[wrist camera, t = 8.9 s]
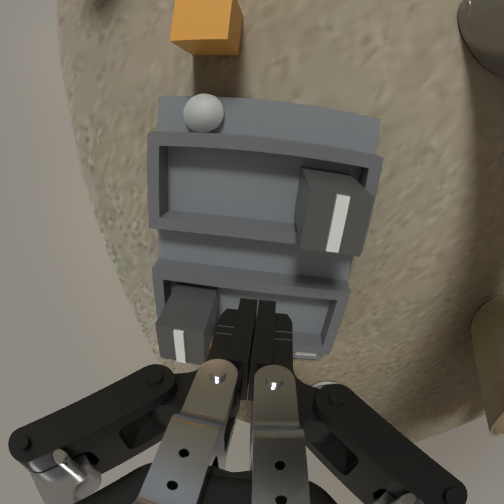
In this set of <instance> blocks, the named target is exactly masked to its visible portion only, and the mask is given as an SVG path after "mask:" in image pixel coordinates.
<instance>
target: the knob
mask: <svg viewBox="0 0 504 504" xmlns="http://www.w3.org/2000/svg"><path fill="white" fill-rule="evenodd" d="M373 202H374V196H373V195H372V194H371V193H370V192H369V191H367V190H366V189H365V188H364V187H363V186H362V185H361V184H360V183H359V182H358V181H357V180H356V179H354V178H353V177H352V176H351V175H350V174H348V173H342V172H336V171H330V170H323V169H317V168H310V167H303V166H301V170H300V177H299V184H298V191H297V198H296V205H295V212H294V214H295V221H296V227H297V234H298V240H299V247H300V249H304V250H312V251H320V252H329V253H337V254H345V255H353V256H360V254H361V251H362V247H363V243H364V239H365V235H366V231H367V227H368V223H369V219H370V215H371V211H372V206H373Z"/></svg>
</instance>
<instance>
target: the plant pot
mask: <svg viewBox="0 0 504 504" xmlns="http://www.w3.org/2000/svg"><path fill="white" fill-rule="evenodd" d="M471 337H472V344H473V351H474V358H475V364H476V369H477V375H478V380H479V385H480V390H481V395H482V400H483V404H484V409H485V413H486V417H487V422H488V426H489V430H490V435H491V436H493V437H499V436H503V435H504V297H503V296H497V297H494V298H492V299H490V300H489V301H487V302H486V303H485V304H484V305H483V306H482V307H481V308H480V309H479V310H478V312H477V313H476V315H475V316H474V318H473V321H472V324H471Z"/></svg>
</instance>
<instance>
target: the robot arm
mask: <svg viewBox="0 0 504 504" xmlns="http://www.w3.org/2000/svg"><path fill="white" fill-rule="evenodd" d="M458 22H459V27H460V30H461V33H462V36H463V38H464V40H465V42H466V44H467V46H468V48H469V49H470V51H471V52H472V54H473V55H474V56H475V58H476V59H477V60H478V61H479V62H480V63H481V64H482V65H483V66H484V67H485V68H486V69H488V70H489V71H491V72H493V73H494V74H497V75H504V0H464V1H463V2H462V3H461V4H460V6H459V9H458ZM257 304H258V311H257ZM275 311H276V301H270V300H259V303H258V299H247V298H240V302H239V307H238V309H228V308H227V309H226V310H225V311H224V312H223V313H222V314H221V315H220V317H219V320H218V324H217V327H216V331H215V334H214V337H213V341H212V344H211V348H210V351H209V355H208V358H207V361H206V362H205V363H203V364H202V365H201V366H200V367H199V369H198V370H196V371H193V372H189V373H180V374H173V372H172V371H171V370H170V369H169V368H168V367H166V366H164V365H159V364H153V365H149V366H146V367H144V368H142V369H140V370H138V371H136V372H134V373H132V374H131V375H129V376H127V377H125V378H123V379H121V380H119V381H117V382H115V383H113V384H111V385H109V386H108V387H105V388H103V389H101V390H99V391H97V392H95V393H93V394H91V395H89V396H87V397H86V398H83V399H81V400H79V401H77V402H75V403H73V404H71V405H69V406H67V407H65V408H62V409H60V410H58V411H56V412H54V413H52V414H50V415H47V416H45V417H43V418H41V419H39V420H37V421H34V422H32V423H30V424H28V425H26V426H23V427H21V428H18V429H17V430H15V431H14V432H13V433H12V434H11V436H10V438H9V443H8V445H9V451H10V453H11V455H12V456H13V457H14V458H15V459H16V460H17V461H19V462H20V463H21V464H22V465H23V466H25V468H26V469H27V470H28V471H29V472H30V473H31V475H32V477H33V480H34V482H35V484H36V487H37V489H38V490H39V493H40V495H41V497H42V499H43V501H44V503H45V504H337V503H336V502H335V501H334V500H333V499H332V498H331V496H330V495H329V494H328V493H327V492H326V491H324V490H323V489H322V488H321V487H319V486H318V485H316V484H314V483H313V482H310V481H308V468H307V456H306V446H307V447H308V448H309V449H310V451H311V452H312V453H313V454H314V455H315V456H316V457H317V458H318V459H319V460H320V461H321V462H322V463H323V464H324V465H325V466H326V467H327V468H328V469H329V470H330V471H331V472H332V473H333V474H334V475H335V476H336V477H337V478H338V479H339V480H340V481H341V482H342V483H343V484H344V485H345V486H346V487H347V488H348V489H349V490H350V491H351V492H352V493H353V494H354V495H356V497H358V498H359V499H360V500H361V501H362V502H363V503H364V504H465V503H466V500H467V490H466V487H465V486H464V484H463V483H462V482H461V481H459V480H458V479H457V478H455V477H454V476H453V475H452V474H450V473H449V472H448V471H447V470H445V469H444V468H443V467H442V466H440V465H439V464H438V463H437V462H435V461H434V460H433V459H431V458H430V457H429V456H428V455H427V454H425V453H424V452H423V451H422V450H421V449H419V448H418V447H417V446H416V445H415V444H413V443H412V442H411V441H410V440H409V439H407V438H406V437H405V436H404V435H403V434H401V433H400V432H399V431H398V430H397V429H395V428H394V427H393V426H392V425H391V424H390V423H388V422H387V421H386V420H385V419H384V418H383V417H381V416H380V415H379V414H378V413H377V412H376V411H374V410H373V409H372V408H371V407H370V406H369V405H367V404H366V403H365V402H364V401H363V400H362V399H361V398H359V397H358V396H357V395H356V394H355V393H354V392H353V391H352V390H350V389H349V388H348V387H346V386H344V385H341V384H328V385H325V386H323V387H322V388H320V389H319V388H315V387H312V386H309V385H306V384H304V383H303V382H301V381H300V380H299V379H298V378H297V377H296V376H295V374H294V371H293V333H292V332H293V323H292V321H291V319H290V317H289V316H288V314H282V313H275ZM248 384H249V392H248V400H251V401H252V410H251V426H250V456H249V471H244V472H228V471H226V470H224V469H225V464H226V457H227V452H228V449H229V444H230V441H231V438H232V434H233V430H234V426H235V422H236V419H237V413H238V411H239V406H240V400H246V398H247V391H248ZM161 440H162V441H161ZM160 441H161V443H160V446H159V448H158V450H157V453H156V455H155V457H154V460H153V462H152V463H149V464H146V465H143V466H141V467H139V468H137V469H135V470H133V471H132V472H130V473H128V474H127V475H125V476H123V477H122V478H120V479H119V480H117V481H115V482H113V483H112V484H110V485H108V486H106V487H104V488H102V489H101V490H99V491H97V492H95V493H93V492H94V491H95V490H97V489H98V488H99V486H100V484H101V474H102V473H104V472H106V471H108V470H110V469H112V468H114V467H116V466H118V465H120V464H121V463H123V462H125V461H127V460H129V459H130V458H132V457H134V456H136V455H138V454H139V453H141V452H143V451H144V450H146V449H148V448H150V447H151V446H153V445H155V444H156V443H158V442H160ZM91 493H93V494H91ZM90 494H91V495H90Z"/></svg>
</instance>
